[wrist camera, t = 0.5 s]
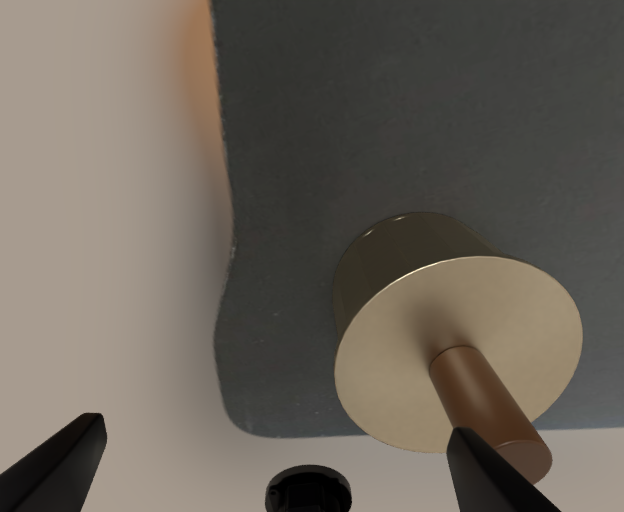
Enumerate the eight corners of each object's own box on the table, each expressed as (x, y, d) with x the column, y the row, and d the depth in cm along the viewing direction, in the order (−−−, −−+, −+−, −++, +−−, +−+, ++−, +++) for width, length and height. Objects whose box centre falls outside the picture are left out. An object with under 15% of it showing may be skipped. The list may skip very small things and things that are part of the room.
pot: (516, 297, 22) (595, 371, 16) (388, 374, 24) (416, 464, 19) (440, 176, 19) (503, 214, 13) (300, 277, 21) (300, 348, 15)
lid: (600, 363, 17) (729, 480, 12) (410, 462, 19) (450, 595, 14) (501, 191, 13) (624, 252, 8) (284, 338, 16) (277, 455, 11)
